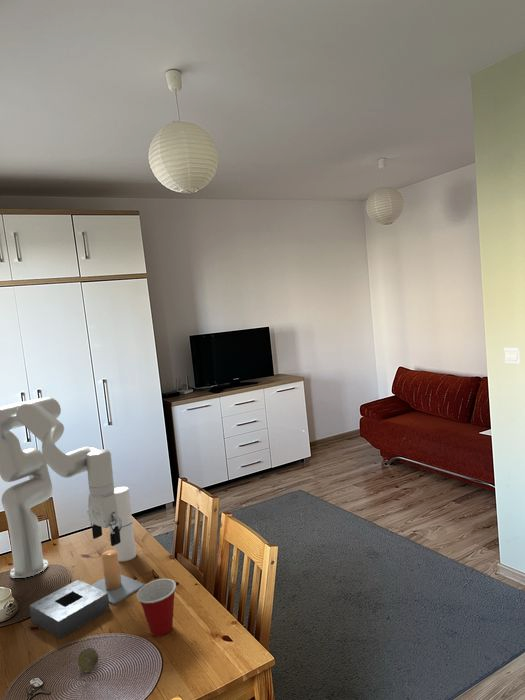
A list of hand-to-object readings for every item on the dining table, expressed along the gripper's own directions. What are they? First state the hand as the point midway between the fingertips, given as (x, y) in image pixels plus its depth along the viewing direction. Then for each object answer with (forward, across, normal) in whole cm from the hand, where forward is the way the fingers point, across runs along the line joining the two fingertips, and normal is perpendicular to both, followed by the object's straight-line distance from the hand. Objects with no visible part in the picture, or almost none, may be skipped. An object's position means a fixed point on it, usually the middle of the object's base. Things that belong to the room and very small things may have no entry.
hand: (106, 540), depth 164 cm
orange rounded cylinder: (+15, +1, 0) cm, 15 cm away
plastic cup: (+15, +32, -7) cm, 36 cm away
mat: (+16, +1, 0) cm, 16 cm away
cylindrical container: (+16, -14, +16) cm, 27 cm away
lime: (+15, +28, -27) cm, 42 cm away
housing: (+16, +2, -16) cm, 22 cm away
